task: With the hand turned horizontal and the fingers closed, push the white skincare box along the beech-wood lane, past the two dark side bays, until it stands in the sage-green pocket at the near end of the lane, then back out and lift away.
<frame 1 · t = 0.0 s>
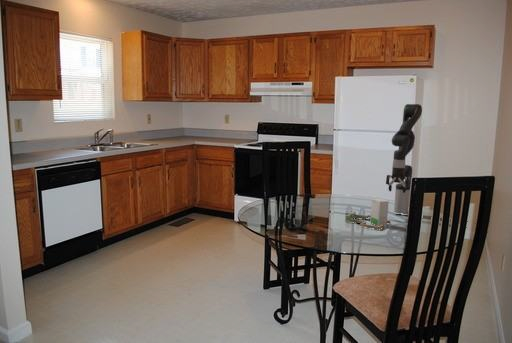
hand: (397, 192, 262), 17 cm above the table, tool pointing down, fingers open, 8 cm apart
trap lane: (368, 223, 251), on the table
skincare box: (378, 225, 247), on the table
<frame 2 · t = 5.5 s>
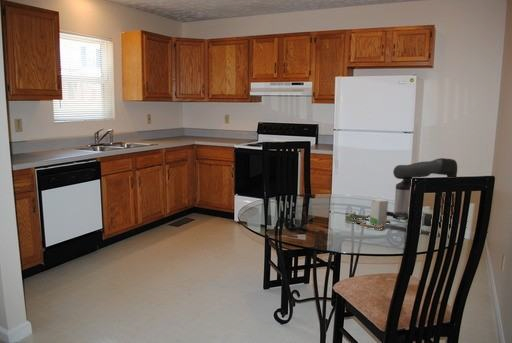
hand: (386, 213, 244), 8 cm above the table, tool horizontal, fingers closed
skincare box: (378, 225, 248), on the table, touching gripper
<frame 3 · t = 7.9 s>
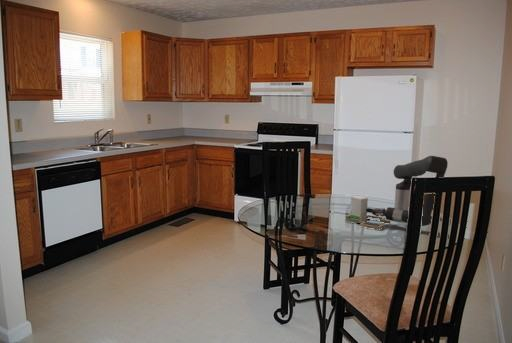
hand: (366, 210, 251), 8 cm above the table, tool horizontal, fingers closed
skincare box: (358, 221, 254), on the table, touching gripper
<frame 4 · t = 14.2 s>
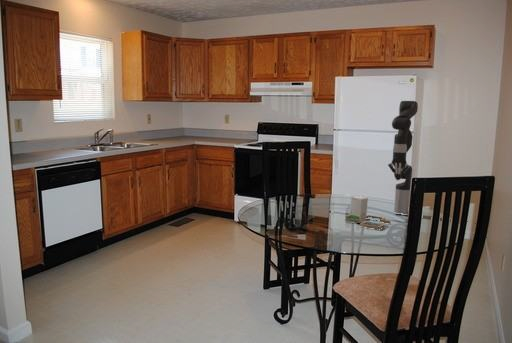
hand: (398, 179, 248), 27 cm above the table, tool pointing down, fingers closed
skincare box: (357, 222, 254), on the table
at the end: skincare box inside the target area (0.8 cm from its centre), on the table; skincare box tilted 0° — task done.
